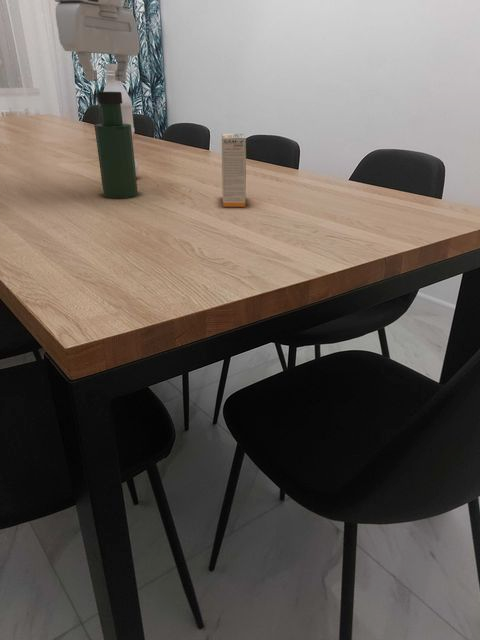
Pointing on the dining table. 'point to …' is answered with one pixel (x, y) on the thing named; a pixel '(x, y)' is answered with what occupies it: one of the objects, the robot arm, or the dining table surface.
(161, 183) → the dining table surface
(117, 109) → the glass bottle
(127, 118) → the water bottle
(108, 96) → the stopper
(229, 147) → the supplement box
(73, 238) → the dining table surface
